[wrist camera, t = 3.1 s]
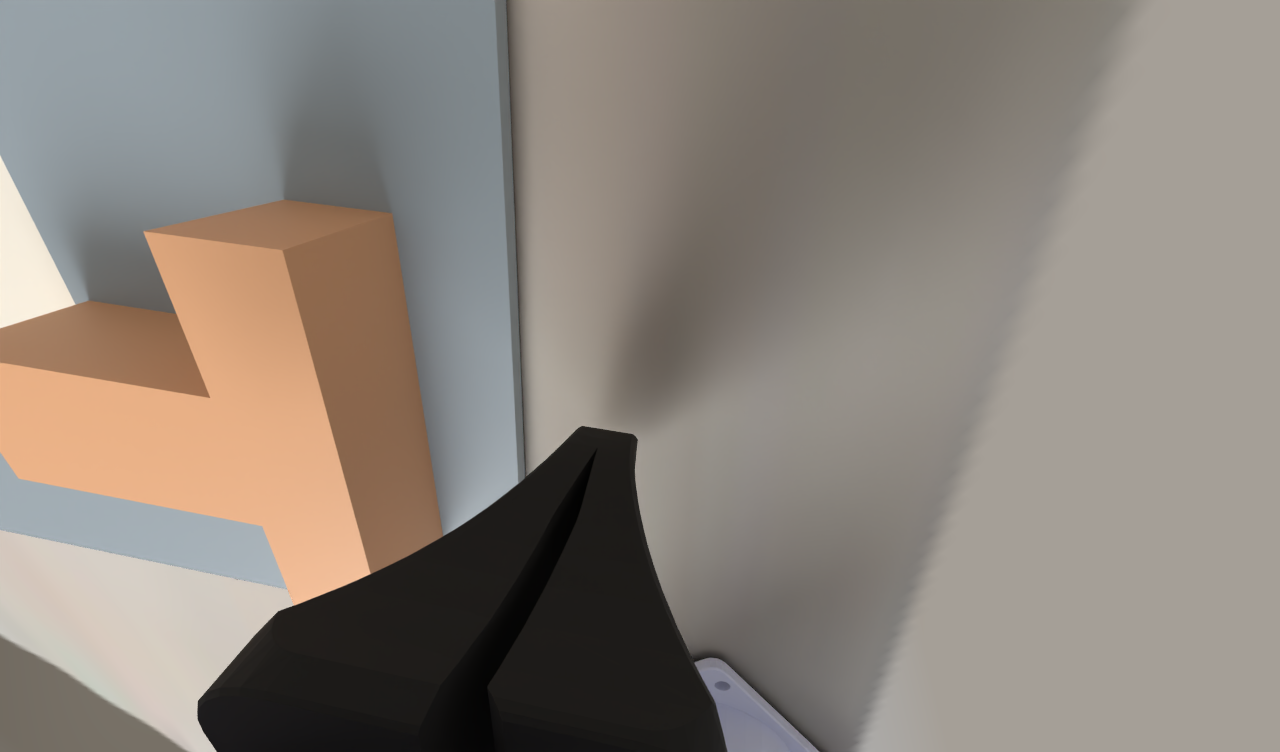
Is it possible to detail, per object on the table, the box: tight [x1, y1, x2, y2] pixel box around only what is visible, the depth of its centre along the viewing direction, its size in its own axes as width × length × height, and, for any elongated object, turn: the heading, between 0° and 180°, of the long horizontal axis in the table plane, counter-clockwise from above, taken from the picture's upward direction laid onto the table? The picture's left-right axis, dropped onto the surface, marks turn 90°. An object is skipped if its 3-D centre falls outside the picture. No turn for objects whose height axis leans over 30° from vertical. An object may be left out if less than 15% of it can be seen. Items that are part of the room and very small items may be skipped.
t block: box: [0, 200, 443, 605], centre depth 12 cm, size 9×10×3 cm
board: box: [0, 0, 525, 589], centre depth 14 cm, size 26×18×1 cm
